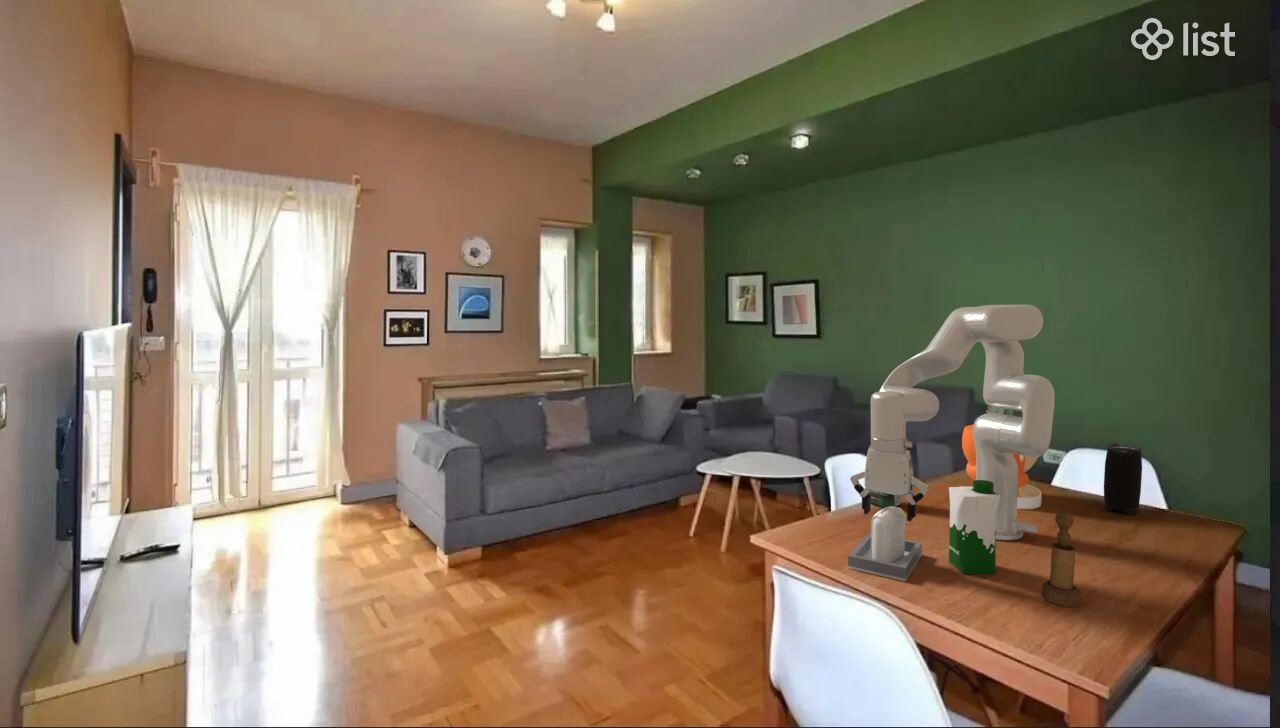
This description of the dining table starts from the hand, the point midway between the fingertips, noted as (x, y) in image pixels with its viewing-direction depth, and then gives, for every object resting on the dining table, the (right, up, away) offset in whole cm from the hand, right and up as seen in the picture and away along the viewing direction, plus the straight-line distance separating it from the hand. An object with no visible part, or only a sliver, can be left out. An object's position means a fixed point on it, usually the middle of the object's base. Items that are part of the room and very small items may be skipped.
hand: (888, 515), depth 142 cm
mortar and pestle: (+27, -12, -19) cm, 36 cm away
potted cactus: (+54, -6, +46) cm, 71 cm away
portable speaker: (+81, -7, +33) cm, 88 cm away
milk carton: (+18, -11, -4) cm, 21 cm away
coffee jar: (+16, -7, +43) cm, 46 cm away
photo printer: (0, -11, 0) cm, 11 cm away
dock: (0, -11, +1) cm, 11 cm away
